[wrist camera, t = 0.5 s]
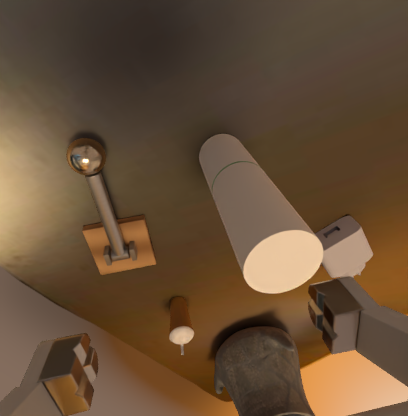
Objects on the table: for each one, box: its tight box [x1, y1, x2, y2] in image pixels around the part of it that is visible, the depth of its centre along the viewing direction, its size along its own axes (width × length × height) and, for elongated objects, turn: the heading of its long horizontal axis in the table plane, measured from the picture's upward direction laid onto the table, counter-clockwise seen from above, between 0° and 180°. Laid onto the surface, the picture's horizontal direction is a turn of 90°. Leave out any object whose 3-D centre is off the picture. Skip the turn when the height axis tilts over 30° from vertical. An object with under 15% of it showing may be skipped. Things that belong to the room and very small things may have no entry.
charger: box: [315, 216, 373, 279], centre depth 59 cm, size 5×9×15 cm
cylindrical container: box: [199, 134, 323, 293], centre depth 36 cm, size 7×7×25 cm
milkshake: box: [170, 296, 194, 355], centre depth 58 cm, size 4×5×10 cm
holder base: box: [83, 215, 156, 275], centre depth 50 cm, size 10×10×4 cm
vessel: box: [214, 326, 315, 416], centre depth 66 cm, size 22×22×20 cm
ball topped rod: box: [66, 138, 131, 261], centre depth 44 cm, size 21×5×5 cm, turn 7°
